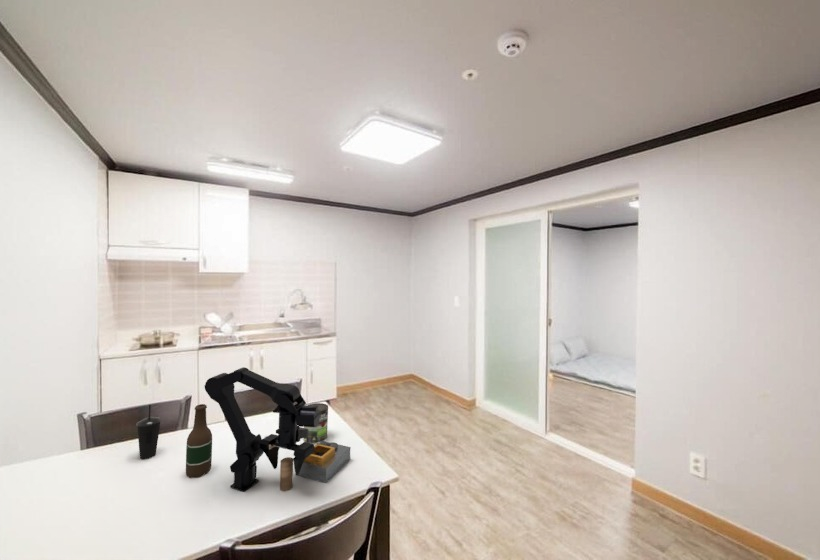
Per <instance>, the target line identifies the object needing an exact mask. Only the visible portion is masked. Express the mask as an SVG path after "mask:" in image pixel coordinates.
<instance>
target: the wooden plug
mask: <svg viewBox="0 0 820 560" xmlns="http://www.w3.org/2000/svg"><path fill="white" fill-rule="evenodd" d="M293 458H294V457H289V456H287V457H284V458H282V459H280V469H279V470H280V472H279V473H280V474H279V476H280V477H279V490H280V491H282V492H287V491H290V490H291V489H292V488H293V482H294V481H293V477H294V461H293Z"/></svg>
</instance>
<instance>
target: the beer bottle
mask: <svg viewBox="0 0 820 560" xmlns="http://www.w3.org/2000/svg"><path fill="white" fill-rule="evenodd" d="M207 406H208V405H207V404H204V403H201V404H197V405H195V407H194V421H193V426H192V429H191V431H190V433H189V434H188V436H187V438H186V449H185V452H186V453H185V475H186V476H187V477H188V478H189V479H192V478H193V479H194V478H201V477H202V476H205V475H206V474H207V475H208V473H209V472H210V470H211V469H212V460H213V459H212V458H213V457H212V456H213V433H212V431H211V428H209V427H208V424H207V423H208V422H207V408H208V407H207Z"/></svg>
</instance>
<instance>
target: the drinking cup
mask: <svg viewBox="0 0 820 560" xmlns="http://www.w3.org/2000/svg"><path fill="white" fill-rule="evenodd" d="M151 414H152V404H148V414H147V415H148V417H145V418H143V419H141V420H139V421H137V422H136V424H135V425H136V427H137V441H138V450H139V451H138V452H139V459H140V460H149V459H152V458H154V457H155V456H156V455H157V449H158V442H159V435H160V428H161V427H160V426H161V421H162V418H161V417H158V416H157V417H156V416H151Z"/></svg>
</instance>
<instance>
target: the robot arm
mask: <svg viewBox="0 0 820 560" xmlns="http://www.w3.org/2000/svg"><path fill="white" fill-rule="evenodd" d="M235 383H240V384H242V385H244V386H246V387H249V388H251V389H253V390H255V391H258V392H260V393H262V394H264V395H266V396H268V397H269V398H270V399H271V400H272V402H273V403H274V404H276V407H275V408H274V409H273V410H272V413H274V414H275V413H276V414H278V428H277V429H275V434H274V433H271V434H269V435H267V436H265V437H264V438H262V435H261V434H260V433H258V434H257V435H256V434H254V433H252V431H251V429H250V427H249V425H248V423H247V421H246V419H245V417H244V414H243V413H242V410H241V408H240V406H239V403H238V401H237V399H236V397H235ZM204 390H205V392H206V394H207V395H208V397H210V399H211V400H213V401H214V402H216V403H218V405H219V407H220V409H221V411H222V414H223V416H224V418H225V420H226V423H227V424H228V427H229V428H230V431H231V433H232V435H233V437H234V439H235V442H236V444H235V446H236V447H235V455H236V457H237V459H236V460H235V461H234V462H233V463H232V464H231V465H230V466H229V469H230V472H231V473H232V474H233V473H234V475H233V483H231V484H230V488H232V489H235V490H237V491H242V492H246V491H248V489H250V488H252V487H253V486H255V485H256V484H257V483H259V482H260V478H257V468H258V466H257V462H258V461H259V460H260V457H262V456H263V454H265V456H266V457H267V459H268V461H269V462H270V464H271V466H272V468H273V469H274V470H276V469H277V468H278V463H279V450H280V449H284V450H289V451H293V456H294V457H292V458H293V469H294V474H296V475H295V476H299V475H298V474H299V472H300V469H301V467H302V464H303V462H304V460H305V459H306V458H307V457H308V456H310V455H311V454H312V453H313V452H315V444H312V443H308V442H304V441H303V442H302V443H301V444H297V443H299V442H300V441H301V440H302V439H303V440H304V439H306V437H307V432H308V429H306V428H304V427H317V426H318V424H319V420H320V412H319V409H318V406H317V405H314V406H307V403H306V400H305V399H304V397H303V396H302V395H301V393H300V389H299V387H298V386H296V385H294V384H289V383H282V382H278V381H277V382H276V381H274V380H272V379H270V378H267V377H265V376H264V375H263V376H262V375H261V374H258V373H256V372H254V371H252V370H250V369H249V368H247V367H240V368H238V369H235V370H233V371H232V372H229V373H227V372H222V373H220V374H217V375H214V376H212V377H209V378H208V379H207V380H206V382H205V384H204ZM294 403H295V404H294Z"/></svg>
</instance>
